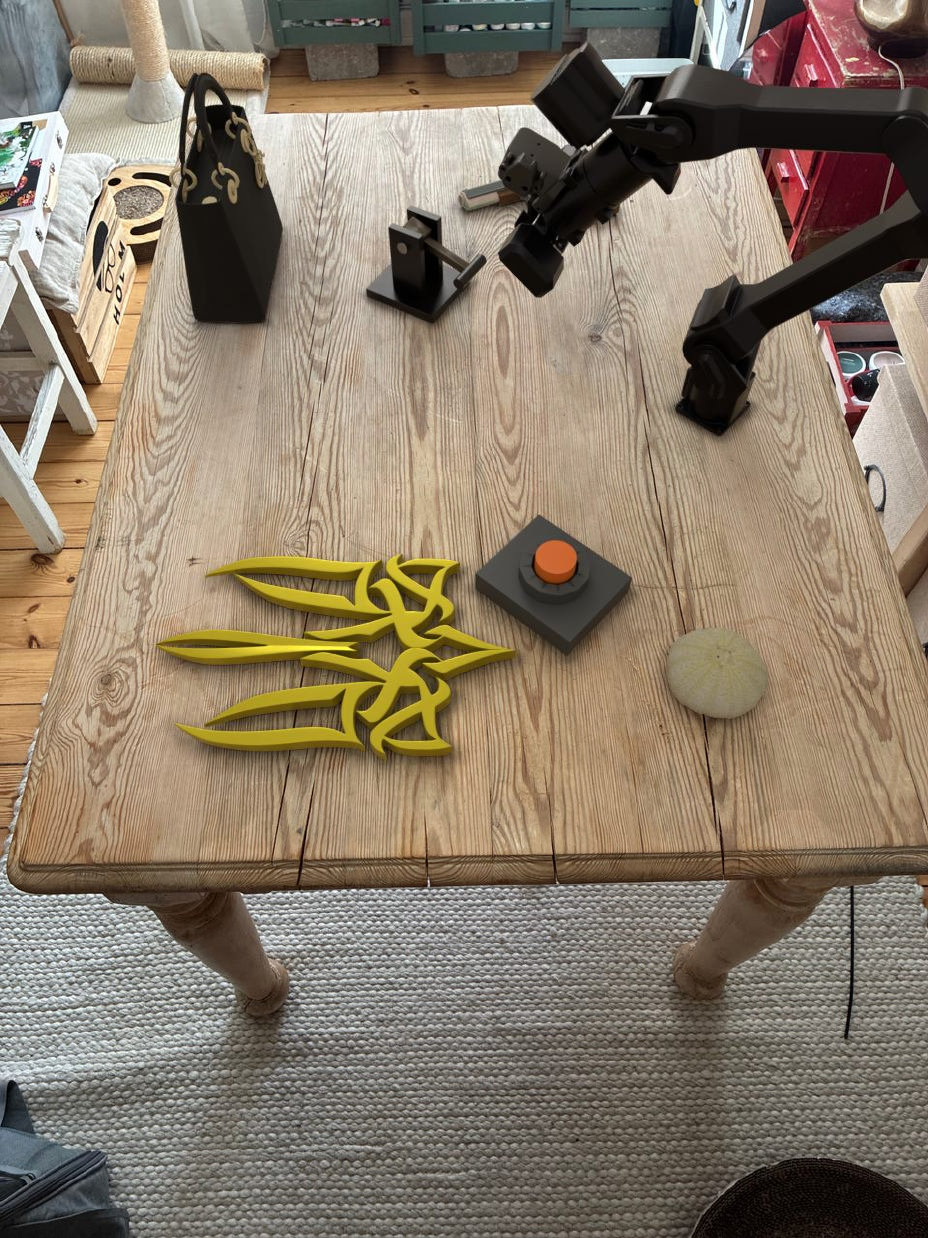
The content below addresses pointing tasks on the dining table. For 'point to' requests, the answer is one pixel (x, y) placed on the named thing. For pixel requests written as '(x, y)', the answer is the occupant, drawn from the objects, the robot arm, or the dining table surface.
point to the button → (555, 562)
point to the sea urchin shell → (716, 672)
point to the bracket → (416, 272)
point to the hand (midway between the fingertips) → (503, 260)
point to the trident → (344, 655)
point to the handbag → (225, 211)
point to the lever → (448, 255)
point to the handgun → (491, 196)
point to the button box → (552, 587)
